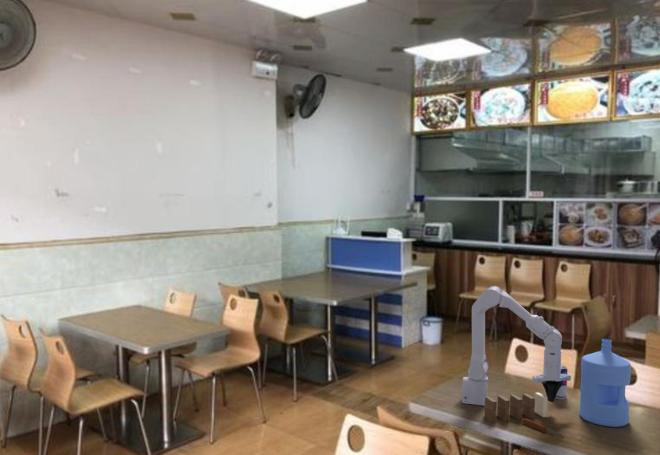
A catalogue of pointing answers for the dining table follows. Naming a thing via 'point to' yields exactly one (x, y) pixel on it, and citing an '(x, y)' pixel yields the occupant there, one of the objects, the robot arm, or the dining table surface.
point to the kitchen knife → (540, 427)
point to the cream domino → (541, 404)
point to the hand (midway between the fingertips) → (550, 401)
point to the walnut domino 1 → (490, 409)
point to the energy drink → (563, 389)
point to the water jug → (604, 387)
